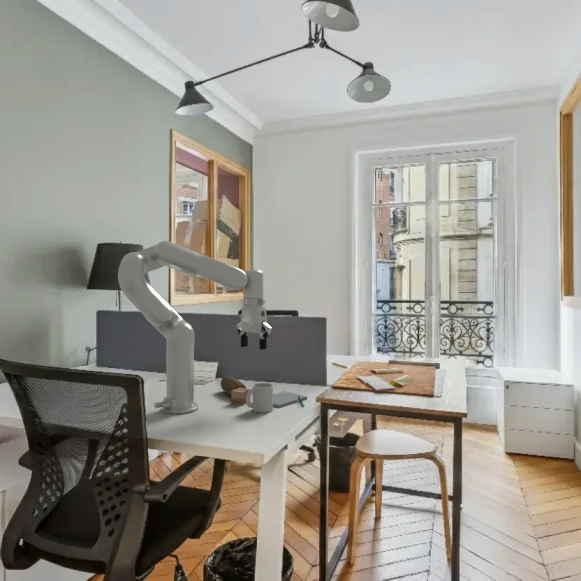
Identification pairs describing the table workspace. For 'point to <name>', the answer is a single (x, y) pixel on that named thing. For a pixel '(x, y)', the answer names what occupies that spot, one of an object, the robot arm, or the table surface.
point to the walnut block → (239, 396)
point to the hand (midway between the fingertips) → (253, 347)
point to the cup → (261, 397)
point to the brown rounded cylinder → (231, 384)
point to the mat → (286, 398)
